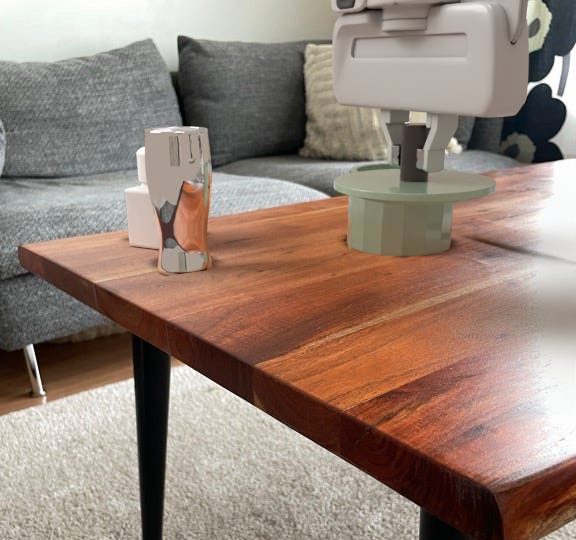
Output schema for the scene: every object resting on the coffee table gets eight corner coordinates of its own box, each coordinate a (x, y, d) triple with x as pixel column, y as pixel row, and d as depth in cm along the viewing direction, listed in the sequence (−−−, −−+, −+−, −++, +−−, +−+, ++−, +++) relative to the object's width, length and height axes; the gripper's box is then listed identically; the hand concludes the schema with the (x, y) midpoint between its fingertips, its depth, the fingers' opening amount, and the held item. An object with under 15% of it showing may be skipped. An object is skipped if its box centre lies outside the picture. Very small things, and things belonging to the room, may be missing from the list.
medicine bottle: (161, 235, 97) (154, 141, 92) (206, 240, 94) (201, 144, 89) (128, 246, 91) (118, 147, 86) (175, 252, 88) (168, 150, 83)
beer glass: (206, 279, 77) (198, 132, 71) (144, 276, 78) (132, 131, 72) (223, 263, 84) (217, 126, 77) (165, 260, 85) (155, 125, 78)
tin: (406, 232, 98) (410, 160, 94) (471, 252, 88) (479, 172, 84) (328, 243, 92) (330, 167, 88) (388, 265, 82) (393, 181, 78)
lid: (423, 177, 70) (427, 115, 68) (530, 198, 59) (539, 124, 57) (303, 191, 64) (303, 123, 62) (399, 216, 53) (403, 135, 51)
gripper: (562, -31, 48) (536, 181, 54) (379, -7, 64) (373, 154, 70) (493, -35, 45) (473, 189, 51) (319, -9, 62) (319, 159, 67)
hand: (414, 168), depth 61 cm, fingers closed on lid, 2 cm apart
